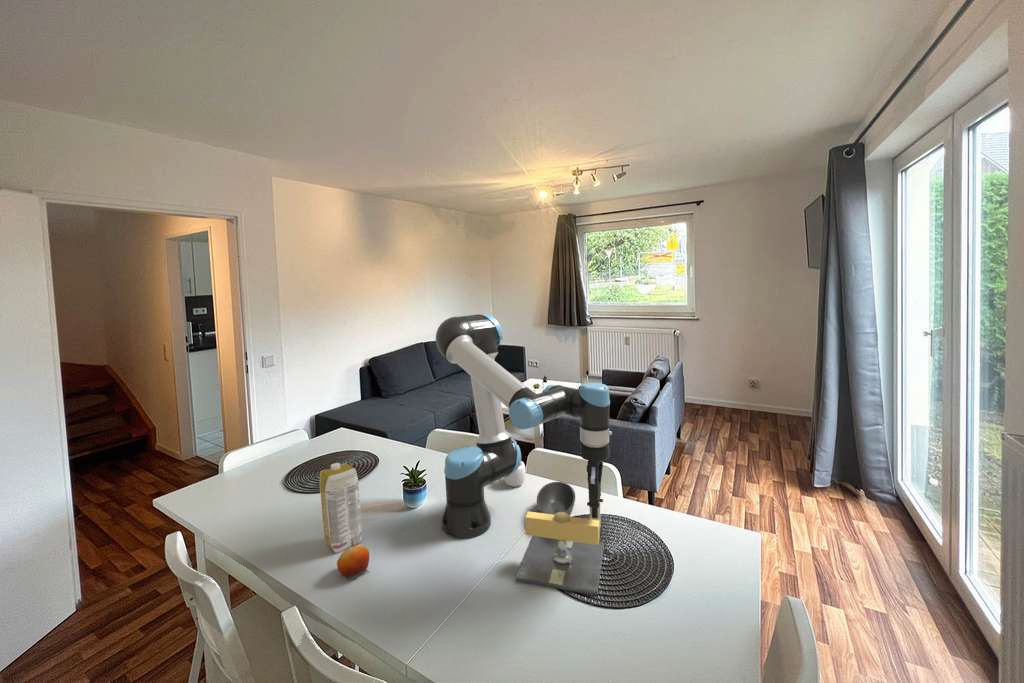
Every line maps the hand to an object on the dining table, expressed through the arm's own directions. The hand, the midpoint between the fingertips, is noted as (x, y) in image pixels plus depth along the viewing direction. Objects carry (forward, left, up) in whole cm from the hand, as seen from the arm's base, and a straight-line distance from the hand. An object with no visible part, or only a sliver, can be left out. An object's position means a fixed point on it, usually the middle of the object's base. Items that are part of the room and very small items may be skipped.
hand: (595, 526), depth 116 cm
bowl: (-14, +18, -9) cm, 24 cm away
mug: (-35, +36, -9) cm, 51 cm away
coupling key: (-8, -5, -1) cm, 10 cm away
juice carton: (-71, -12, -9) cm, 73 cm away
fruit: (-60, -22, -9) cm, 65 cm away
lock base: (-8, -5, -8) cm, 13 cm away
